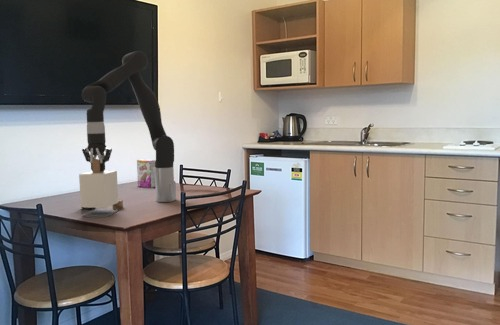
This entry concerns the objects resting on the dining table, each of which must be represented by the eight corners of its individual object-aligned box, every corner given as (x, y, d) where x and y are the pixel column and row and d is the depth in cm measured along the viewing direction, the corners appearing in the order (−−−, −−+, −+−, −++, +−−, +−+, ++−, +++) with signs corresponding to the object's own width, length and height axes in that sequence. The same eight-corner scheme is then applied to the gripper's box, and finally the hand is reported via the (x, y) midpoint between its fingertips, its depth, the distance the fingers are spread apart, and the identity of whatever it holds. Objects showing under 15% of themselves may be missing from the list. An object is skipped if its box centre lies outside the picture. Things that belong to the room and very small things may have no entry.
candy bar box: (137, 186, 281) (136, 159, 279) (143, 185, 285) (142, 159, 283) (151, 188, 275) (149, 160, 273) (156, 186, 279) (155, 159, 277)
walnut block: (122, 207, 220) (122, 199, 220) (121, 209, 216) (121, 201, 216) (114, 208, 220) (113, 199, 219) (112, 209, 216) (112, 201, 215)
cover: (118, 202, 211) (116, 157, 208) (104, 207, 200) (102, 160, 197) (95, 201, 213) (93, 157, 211) (81, 207, 202) (78, 160, 200)
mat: (117, 211, 211) (117, 210, 211) (105, 217, 200) (105, 215, 200) (96, 211, 213) (96, 209, 213) (82, 216, 203) (82, 215, 203)
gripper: (115, 131, 205) (117, 170, 207) (86, 132, 208) (88, 170, 210) (106, 132, 198) (108, 172, 200) (76, 132, 201) (79, 172, 203)
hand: (98, 171), depth 205 cm, fingers closed on cover, 3 cm apart
